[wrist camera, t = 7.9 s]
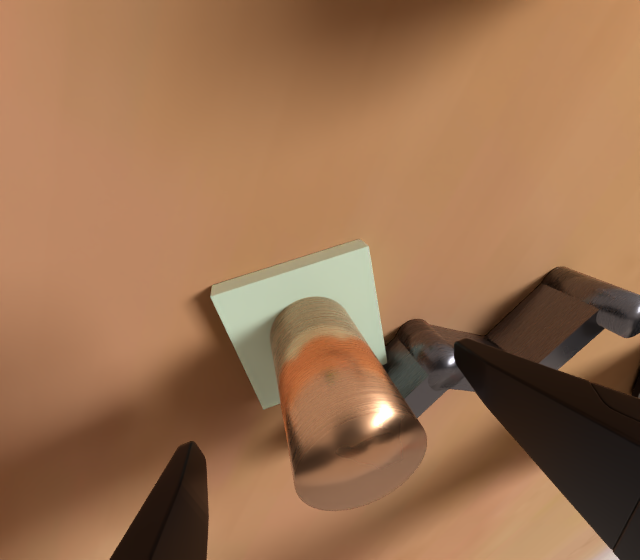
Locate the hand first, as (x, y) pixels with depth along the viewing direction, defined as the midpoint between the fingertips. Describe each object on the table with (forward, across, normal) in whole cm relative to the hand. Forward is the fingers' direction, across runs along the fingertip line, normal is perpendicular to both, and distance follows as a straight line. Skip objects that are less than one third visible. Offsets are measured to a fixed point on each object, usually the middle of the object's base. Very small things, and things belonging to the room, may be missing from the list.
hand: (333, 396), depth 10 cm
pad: (+5, 0, 0) cm, 5 cm away
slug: (+4, 0, 0) cm, 4 cm away
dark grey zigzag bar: (+5, -8, +5) cm, 10 cm away
